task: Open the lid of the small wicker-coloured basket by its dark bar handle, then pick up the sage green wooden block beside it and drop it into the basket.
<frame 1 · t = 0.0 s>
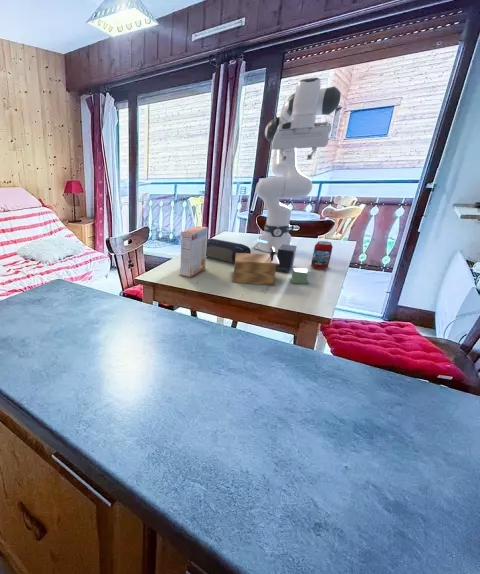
hand: (296, 160, 138), 48 cm above the table, tool pointing down, fingers open, 8 cm apart
block: (298, 281, 139), on the table
basket lid: (256, 253, 140), point 11 cm above the table, hinge at 0.0°
cracker box: (192, 272, 156), on the table
basket: (252, 278, 144), on the table
small box: (283, 269, 154), on the table
portable speaker: (223, 260, 171), on the table
beverage can: (319, 268, 152), on the table
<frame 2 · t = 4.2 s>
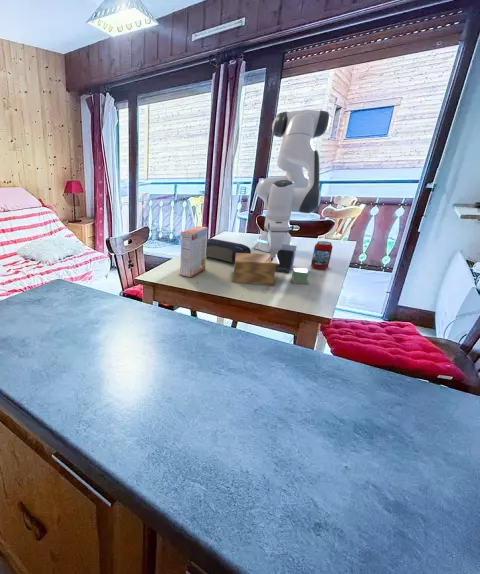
hand: (271, 255, 138), 11 cm above the table, tool pointing down, fingers closed on basket lid, 6 cm apart
basket lid: (256, 253, 140), point 11 cm above the table, hinge at 0.0°, touching gripper
everything else where it was.
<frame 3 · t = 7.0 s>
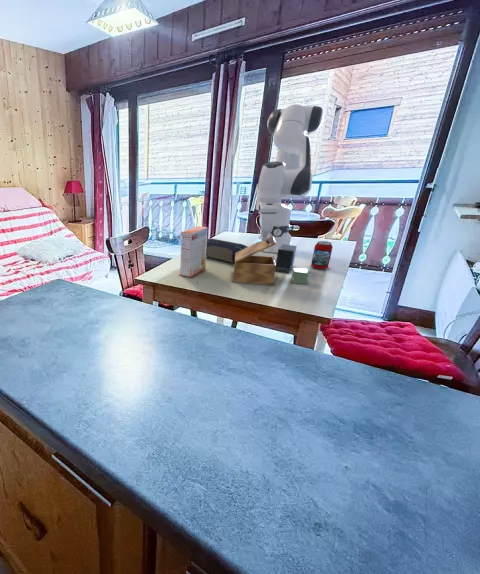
hand: (263, 238, 137), 18 cm above the table, tool pointing down, fingers closed on basket lid, 6 cm apart
basket lid: (251, 244, 139), point 15 cm above the table, hinge at 31.6°, touching gripper
everything else where it was.
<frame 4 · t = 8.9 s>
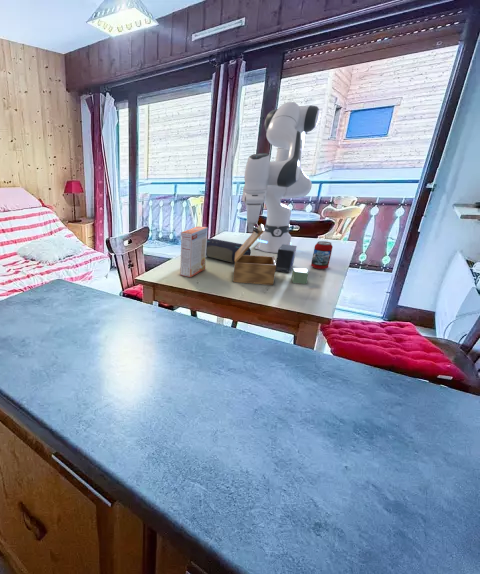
hand: (250, 230, 137), 22 cm above the table, tool pointing down, fingers closed on basket lid, 6 cm apart
basket lid: (244, 239, 140), point 17 cm above the table, hinge at 56.4°, touching gripper
everything else where it was.
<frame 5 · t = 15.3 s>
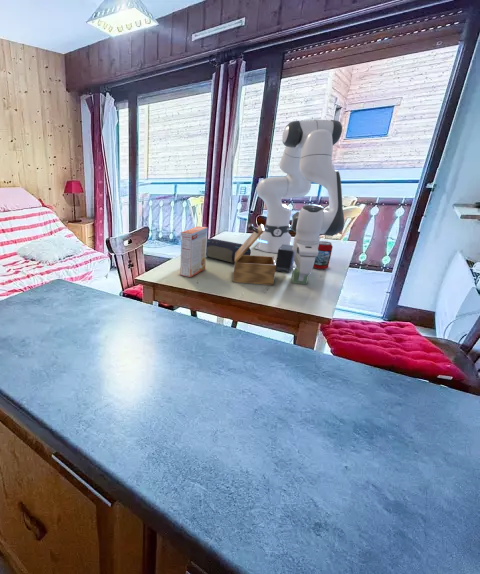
hand: (299, 277, 138), 2 cm above the table, tool pointing down, fingers closed on block, 5 cm apart
block: (298, 281, 139), on the table, touching gripper
basket lid: (244, 239, 140), point 17 cm above the table, hinge at 56.4°
everything else where it was.
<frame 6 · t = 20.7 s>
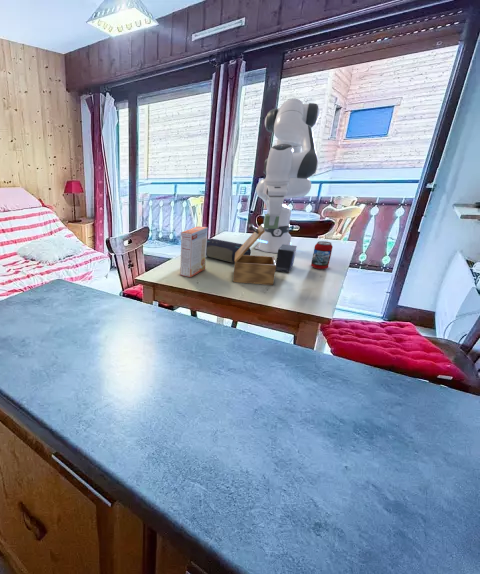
hand: (270, 223, 135), 24 cm above the table, tool pointing down, fingers closed on block, 5 cm apart
block: (270, 227, 135), point 23 cm above the table, touching basket lid, gripper
basket lid: (244, 240, 140), point 17 cm above the table, hinge at 55.7°, touching block
everything else where it was.
when the fingers open (24 cm above the table, at t = 20.7 s): block drops 22 cm, resting on basket.
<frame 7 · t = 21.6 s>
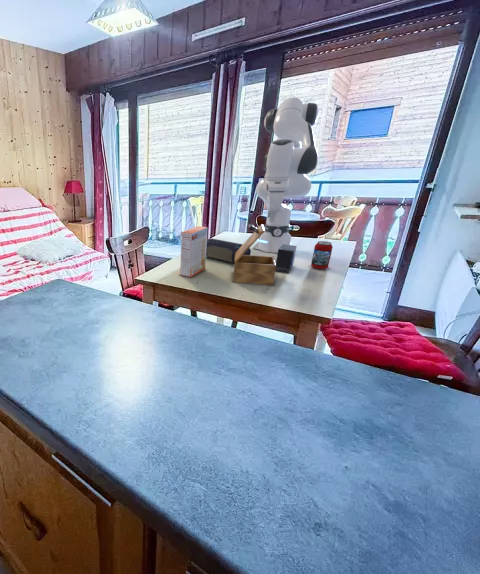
hand: (270, 219, 134), 26 cm above the table, tool pointing down, fingers open, 8 cm apart
block: (258, 276, 144), point 1 cm above the table, touching basket
basket lid: (244, 240, 140), point 17 cm above the table, hinge at 55.6°
everything else where it was.
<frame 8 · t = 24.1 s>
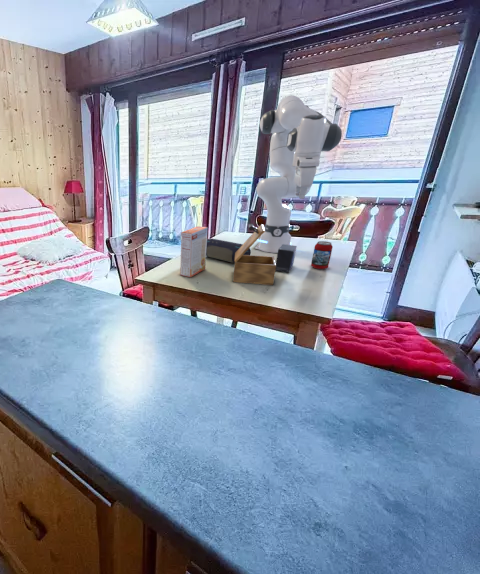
hand: (299, 197, 133), 34 cm above the table, tool pointing down, fingers open, 8 cm apart
nothing on the table moved.
at the end: basket lid at +56° (first picture: +0°); block inside the target area in the basket (2.5 cm from its centre), point 0.8 cm above the basket's base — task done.
